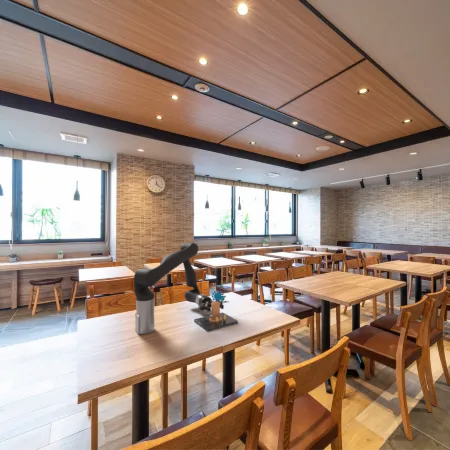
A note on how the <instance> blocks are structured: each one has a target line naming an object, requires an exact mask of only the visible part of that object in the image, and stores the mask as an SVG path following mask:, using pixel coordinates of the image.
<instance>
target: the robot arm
mask: <svg viewBox="0 0 450 450" xmlns="http://www.w3.org/2000/svg"><path fill="white" fill-rule="evenodd" d="M198 252H199V246H198V244H197V243H195V242H183V243H181V245H180V250H177V251H174V252H172V253H169V254H168V255H166V256H164V257H163V258H162V259H161V261H160V264H159V265H158V266H156V267H154V268H139V269H137V270H136V271H135V273H134V276H133V288H134V296H135V300H136V303H135V306H136V307H135V311H136V312H135V314H134V315H135V318H134V319H135V321H134V322H135V329H134V331H135V332H136V334H137V335H148V334H150V333H152V332H154V331H155V293H154V291H152V290H151V289H150V287H153V286H154V285H156V284H158V282H159V281H161V279H163V277H165V276H166V275H167V274H169V273H170V272H172V271H173V270H175V269H176V268H177V267H179V266H180V265H181V264H183V268H184V273H185V282H186V283H185V284H186V287H188V288H192V289H189V290H186V291H185V292H184V299H185V300H186V301H187V302H189V303H194V304H196V305H198V307H197V308H198V309H199V310H200V311H202V312H204V311H206V312H209V313H211V302H215V301H217V302H220V310H224V308H225V306H224V304H223V303H224V302H221V300H220V301H219V300H213V298H212V297H210V296H208V295H206V294H203V293H202V292H201V291H200V289H199V286H198V283H197V282H198V281H197V274H196V271H195V269H194V267H193V266H192V263H191V261H190V259H191V258H193V257H196V255H197V254H198Z"/></svg>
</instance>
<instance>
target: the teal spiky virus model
mask: <svg viewBox="0 0 450 450" xmlns="http://www.w3.org/2000/svg"><path fill="white" fill-rule="evenodd" d="M226 297H227V296H226V295H224V293H222V291H221V290H220V291H219V290H217V289H216V290H215V291H213V292H212V293H211V299H212V301H216V300H219V301H221V302H223V301H225V299H226ZM223 303H224V302H223Z"/></svg>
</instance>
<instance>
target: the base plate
mask: <svg viewBox="0 0 450 450" xmlns="http://www.w3.org/2000/svg"><path fill="white" fill-rule="evenodd" d="M210 317H211V314H210V315H206V316H202V317H198V318H194V319H193V321H194V322H193V323H194V324H196V325H197V326H199V327H200V328H202V329H203V330H204V331H205V332H207V333H210V332H212V331H216V330H221V329H222V328H226V327H230V326H234V325H236V324H237V325H238V324H239V320H238V319H235V318H234V317H232V316H230V315H228V314H226V313H225V312H220V317H222V321H221V322H218V317H216V323H213V322H210V321H209V318H210Z"/></svg>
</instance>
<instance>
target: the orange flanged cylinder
mask: <svg viewBox="0 0 450 450" xmlns="http://www.w3.org/2000/svg"><path fill="white" fill-rule="evenodd" d="M214 301H215V302H211V312H210V313H211V314H210V315H211V317H210V318H209V321H210V322H213V323H216V317H218V322H221V321H222V317H220V313H221V308H220V302H217V301H216V300H214Z"/></svg>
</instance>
